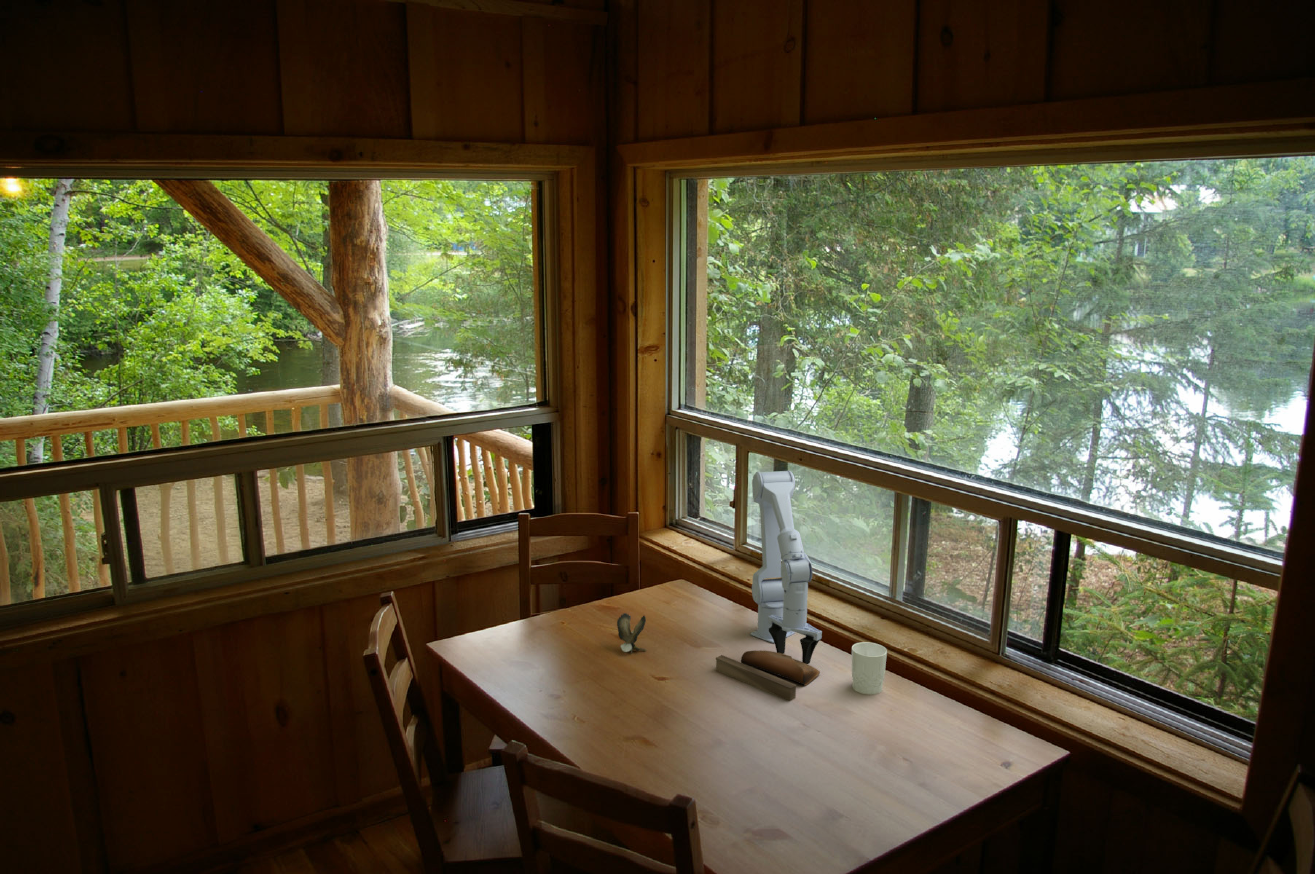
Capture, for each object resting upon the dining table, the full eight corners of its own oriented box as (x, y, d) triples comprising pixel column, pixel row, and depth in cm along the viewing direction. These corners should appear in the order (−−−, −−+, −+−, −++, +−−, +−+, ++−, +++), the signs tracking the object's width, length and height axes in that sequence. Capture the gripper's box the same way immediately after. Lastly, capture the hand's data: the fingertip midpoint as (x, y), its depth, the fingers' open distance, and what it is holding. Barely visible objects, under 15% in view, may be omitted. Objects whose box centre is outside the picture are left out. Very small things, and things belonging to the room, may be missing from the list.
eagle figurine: (647, 644, 229) (647, 611, 228) (646, 656, 222) (646, 622, 221) (617, 644, 230) (617, 611, 228) (615, 655, 223) (615, 622, 221)
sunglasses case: (822, 670, 212) (814, 654, 208) (810, 695, 208) (801, 679, 204) (759, 650, 223) (750, 635, 219) (746, 673, 220) (737, 658, 216)
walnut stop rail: (721, 667, 216) (721, 654, 215) (796, 698, 201) (796, 684, 200) (715, 670, 215) (715, 657, 214) (790, 702, 199) (790, 688, 199)
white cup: (845, 692, 204) (847, 652, 202) (855, 679, 211) (856, 639, 209) (880, 700, 200) (882, 659, 198) (888, 686, 207) (890, 646, 205)
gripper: (761, 603, 217) (759, 654, 220) (810, 619, 207) (808, 673, 210) (778, 595, 222) (777, 646, 225) (827, 611, 212) (825, 664, 215)
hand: (793, 658), depth 218 cm, fingers open, 7 cm apart
